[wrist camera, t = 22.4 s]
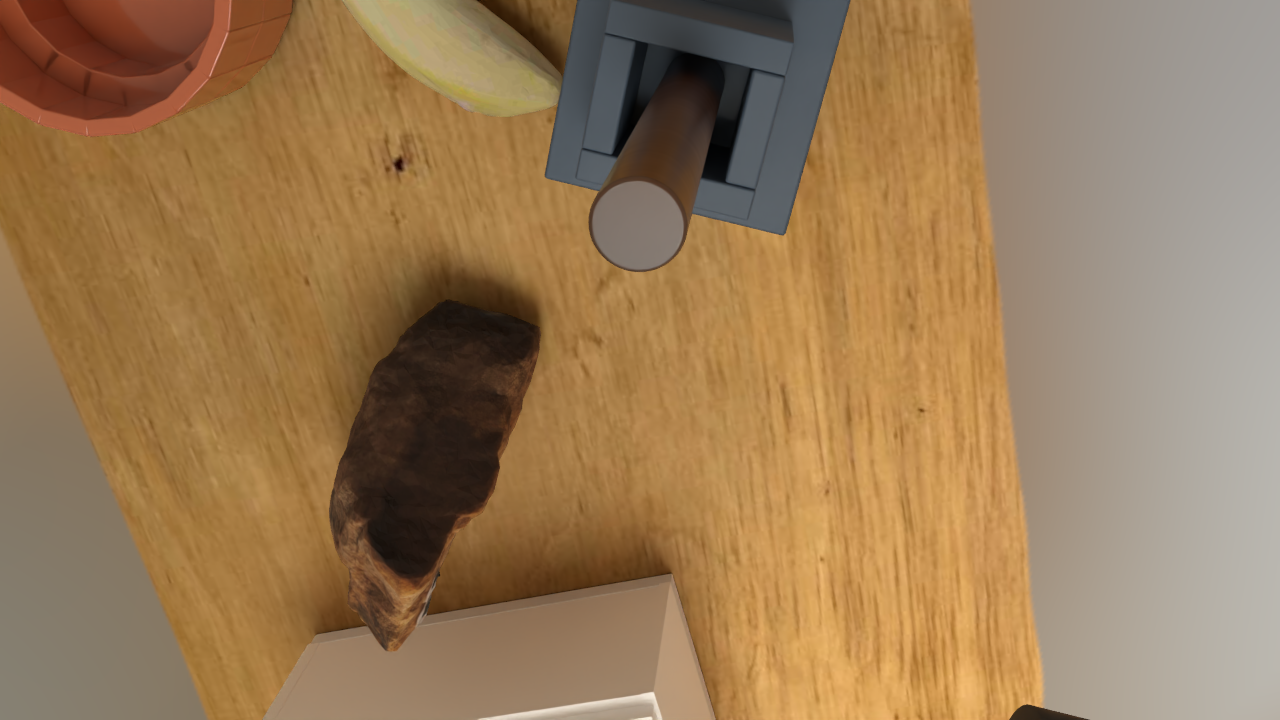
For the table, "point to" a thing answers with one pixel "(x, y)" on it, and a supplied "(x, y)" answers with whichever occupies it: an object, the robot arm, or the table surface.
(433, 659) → the white lidded box
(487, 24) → the fruit
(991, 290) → the table surface
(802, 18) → the holder
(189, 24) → the bowl
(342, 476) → the decorative rock
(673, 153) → the stick
